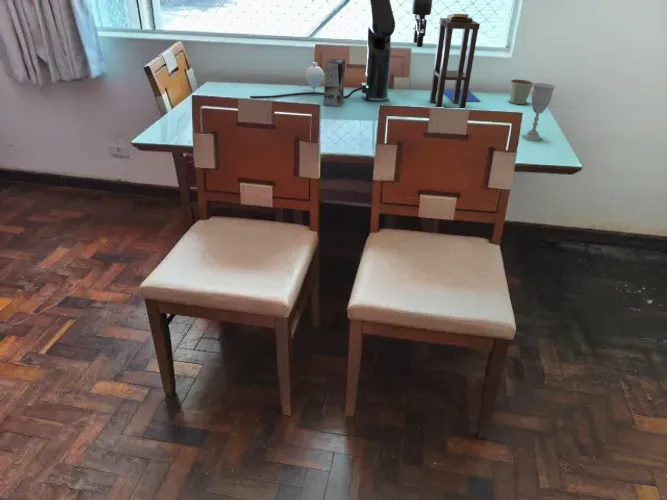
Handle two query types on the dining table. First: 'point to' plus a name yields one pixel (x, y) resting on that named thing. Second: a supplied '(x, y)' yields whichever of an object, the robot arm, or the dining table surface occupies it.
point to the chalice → (539, 105)
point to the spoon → (458, 15)
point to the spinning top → (314, 75)
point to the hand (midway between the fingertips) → (417, 44)
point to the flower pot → (520, 91)
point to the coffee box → (334, 82)
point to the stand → (459, 74)
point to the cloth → (469, 96)
